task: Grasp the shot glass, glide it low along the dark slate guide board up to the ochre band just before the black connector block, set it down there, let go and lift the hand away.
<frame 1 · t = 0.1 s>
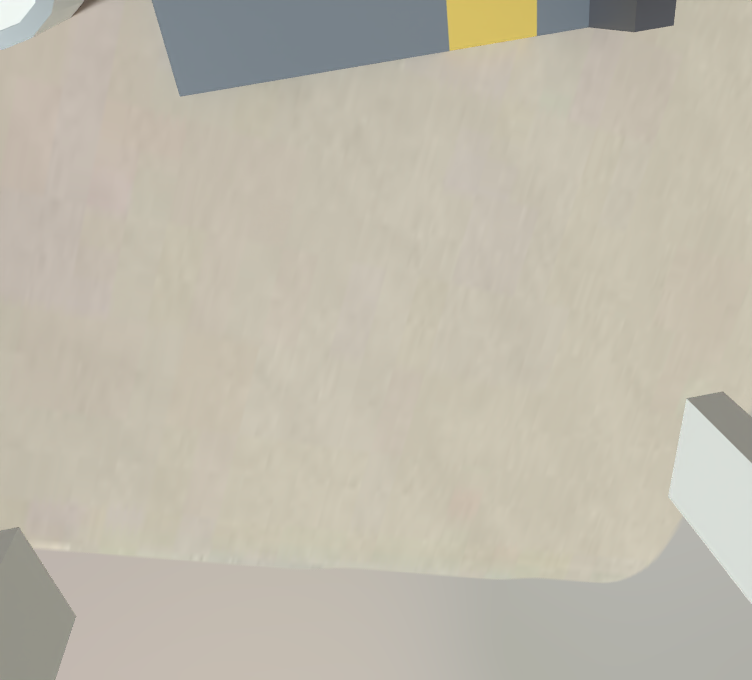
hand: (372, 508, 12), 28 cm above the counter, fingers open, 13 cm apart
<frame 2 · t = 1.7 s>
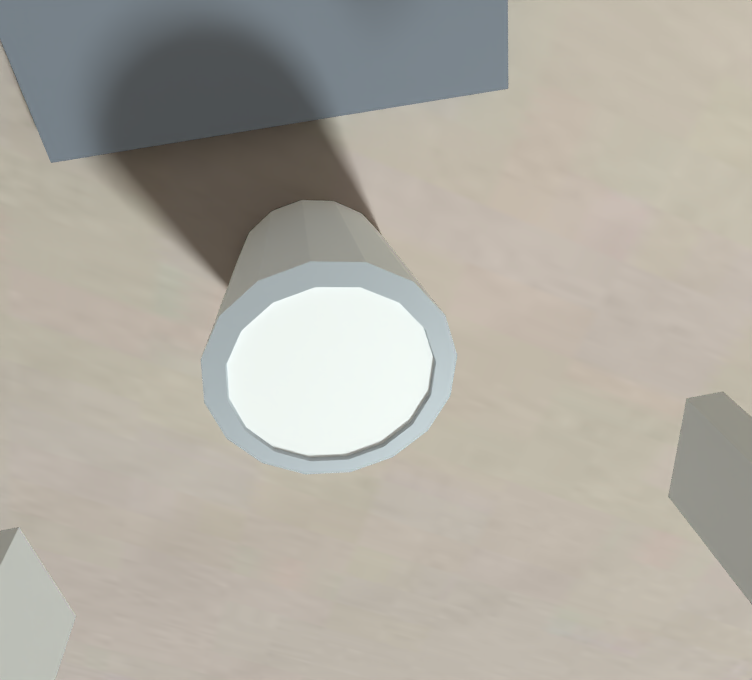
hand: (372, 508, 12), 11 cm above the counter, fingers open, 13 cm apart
shot glass: (315, 272, 22), on the counter
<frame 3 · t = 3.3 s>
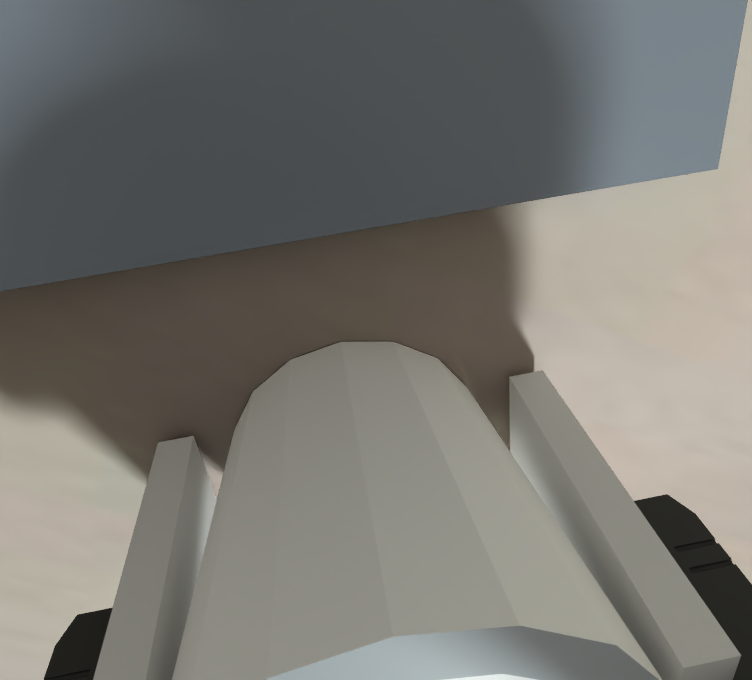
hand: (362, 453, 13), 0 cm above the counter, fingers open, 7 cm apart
shot glass: (357, 439, 14), on the counter, touching gripper
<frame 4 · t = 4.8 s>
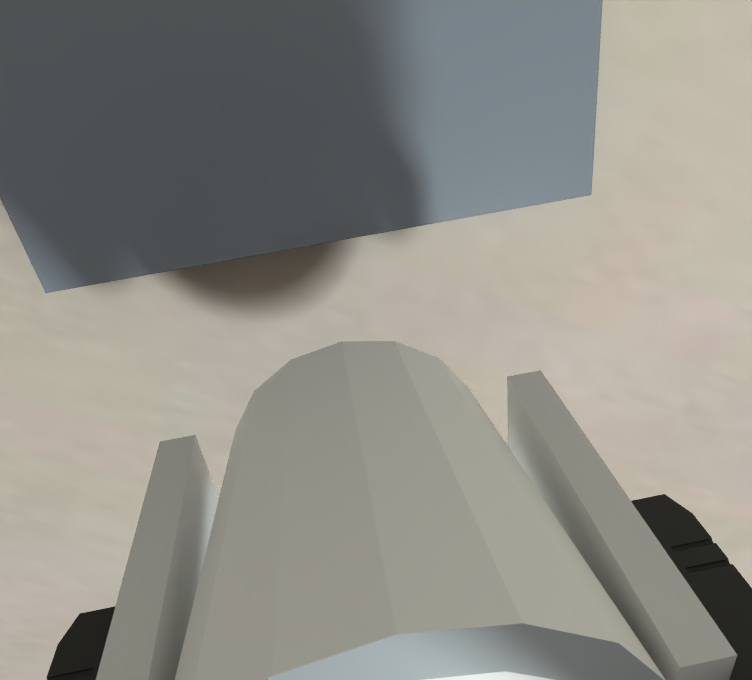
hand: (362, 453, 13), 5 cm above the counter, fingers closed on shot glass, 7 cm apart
shot glass: (358, 439, 14), point 5 cm above the counter, touching gripper
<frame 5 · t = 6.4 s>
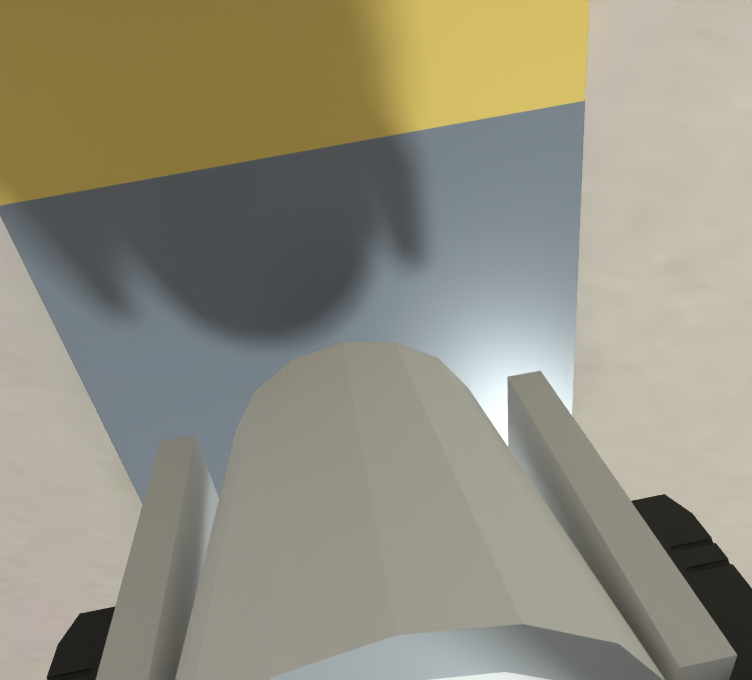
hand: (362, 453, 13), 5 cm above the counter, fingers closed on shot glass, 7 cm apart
guide: (315, 236, 16), on the counter
shot glass: (358, 439, 14), point 5 cm above the counter, touching gripper
when the fingers open (2 cm above the counter, at t = 9.2 s): shot glass drops 1 cm, resting on guide.
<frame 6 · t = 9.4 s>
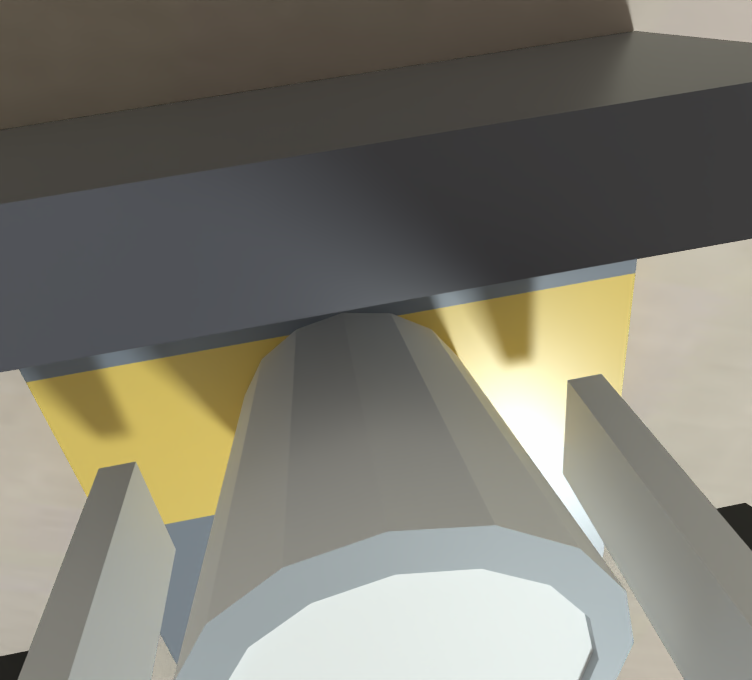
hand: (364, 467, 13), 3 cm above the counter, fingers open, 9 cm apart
guide: (374, 520, 18), on the counter
shot glass: (357, 407, 15), point 1 cm above the counter, touching guide
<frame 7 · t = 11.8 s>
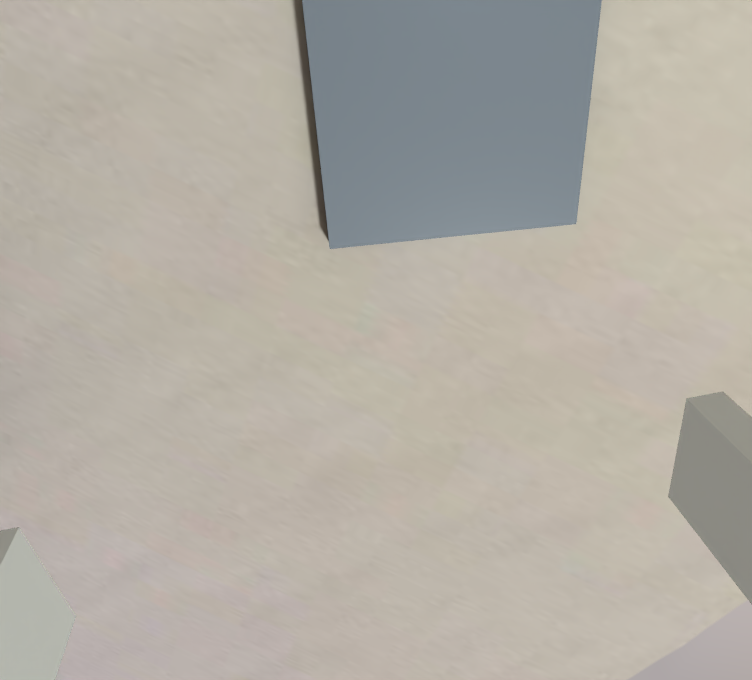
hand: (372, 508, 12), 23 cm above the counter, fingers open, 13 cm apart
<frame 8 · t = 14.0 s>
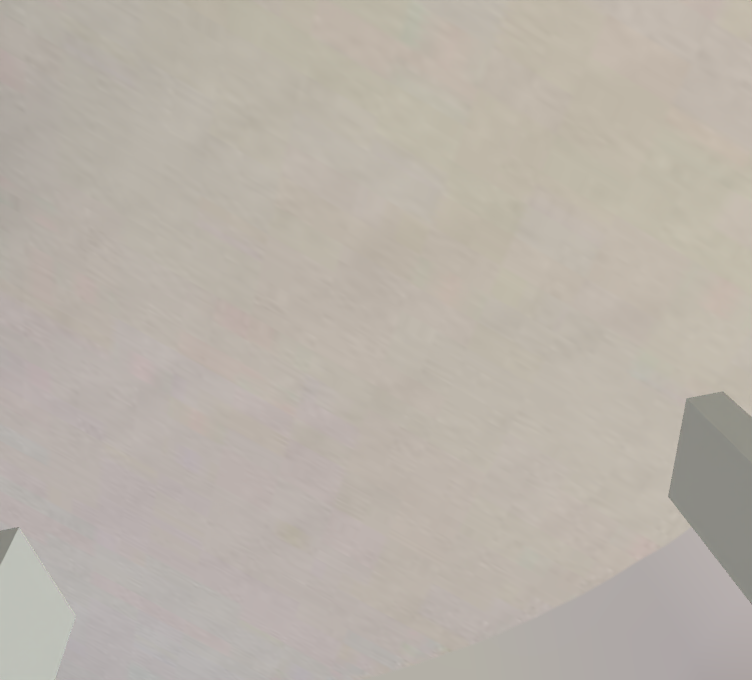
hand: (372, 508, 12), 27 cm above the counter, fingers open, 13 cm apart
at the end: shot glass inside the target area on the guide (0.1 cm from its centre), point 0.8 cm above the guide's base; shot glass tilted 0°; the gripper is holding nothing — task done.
